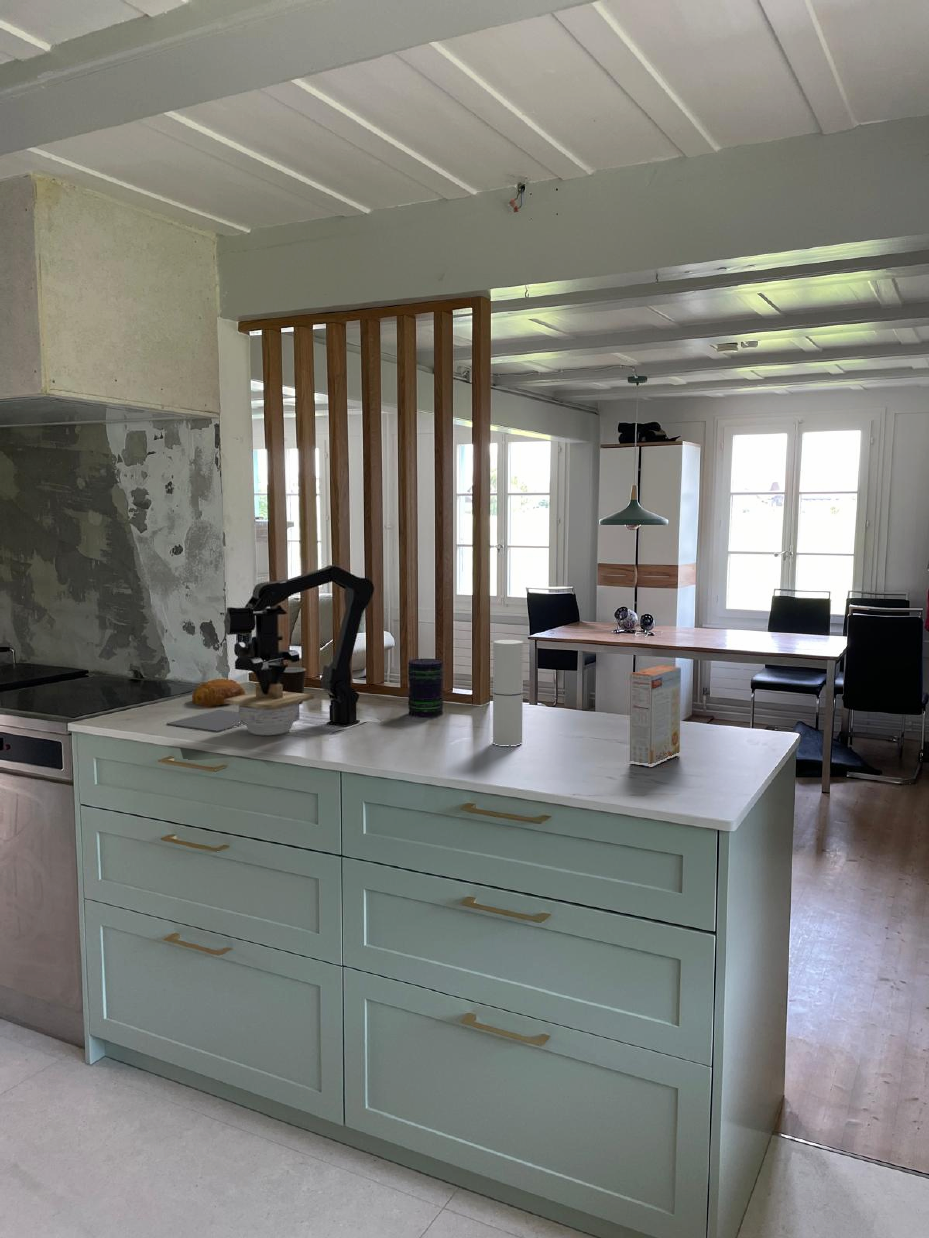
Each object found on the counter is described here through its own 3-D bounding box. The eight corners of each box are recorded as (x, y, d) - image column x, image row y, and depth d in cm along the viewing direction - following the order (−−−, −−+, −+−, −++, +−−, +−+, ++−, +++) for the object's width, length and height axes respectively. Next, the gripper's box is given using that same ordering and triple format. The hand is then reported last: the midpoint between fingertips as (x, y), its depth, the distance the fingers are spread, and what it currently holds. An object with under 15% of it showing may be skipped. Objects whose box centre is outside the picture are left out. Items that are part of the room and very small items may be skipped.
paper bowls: (235, 727, 242) (235, 697, 241) (294, 723, 248) (293, 694, 247) (243, 741, 228) (242, 709, 227) (304, 736, 233) (304, 705, 232)
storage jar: (449, 715, 258) (449, 662, 256) (416, 719, 253) (416, 664, 252) (434, 709, 266) (434, 657, 265) (402, 712, 262) (402, 659, 261)
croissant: (252, 709, 277) (255, 682, 277) (206, 709, 266) (209, 681, 265) (225, 701, 287) (228, 675, 287) (180, 701, 275) (183, 674, 275)
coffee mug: (303, 706, 270) (302, 672, 269) (273, 706, 270) (273, 672, 269) (310, 698, 282) (310, 666, 280) (282, 698, 282) (281, 665, 281)
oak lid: (313, 698, 240) (313, 681, 240) (273, 709, 226) (273, 692, 226) (265, 693, 248) (265, 676, 247) (223, 703, 234) (223, 686, 233)
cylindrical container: (497, 747, 222) (498, 644, 219) (489, 741, 228) (489, 640, 226) (526, 746, 223) (527, 643, 221) (516, 739, 230) (517, 639, 228)
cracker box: (657, 752, 218) (659, 664, 216) (680, 756, 214) (683, 666, 212) (627, 764, 207) (629, 671, 205) (651, 768, 203) (653, 674, 201)
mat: (269, 717, 255) (269, 716, 254) (217, 732, 237) (217, 730, 237) (219, 711, 263) (219, 709, 263) (166, 724, 246) (166, 723, 245)
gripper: (266, 627, 247) (268, 684, 249) (217, 634, 231) (219, 696, 233) (300, 629, 242) (301, 688, 244) (251, 637, 226) (253, 700, 227)
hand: (268, 693), depth 237 cm, fingers closed on oak lid, 2 cm apart
